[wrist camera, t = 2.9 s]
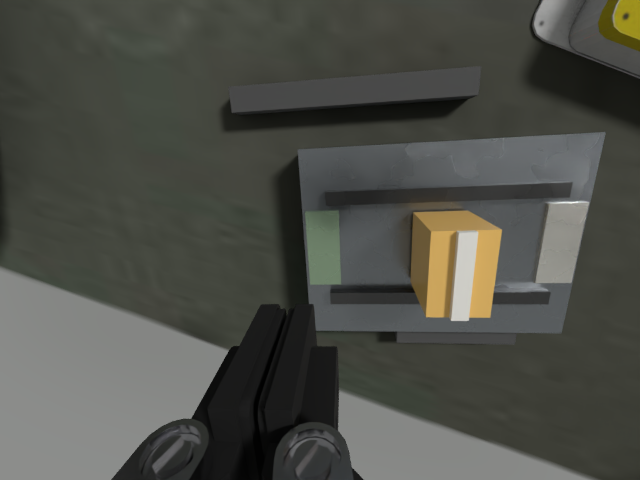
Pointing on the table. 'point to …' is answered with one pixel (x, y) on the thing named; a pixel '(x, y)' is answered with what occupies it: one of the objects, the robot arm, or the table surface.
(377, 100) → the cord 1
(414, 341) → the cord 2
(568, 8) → the emergency button
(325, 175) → the panel
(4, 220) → the table surface
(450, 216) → the cardboard box
